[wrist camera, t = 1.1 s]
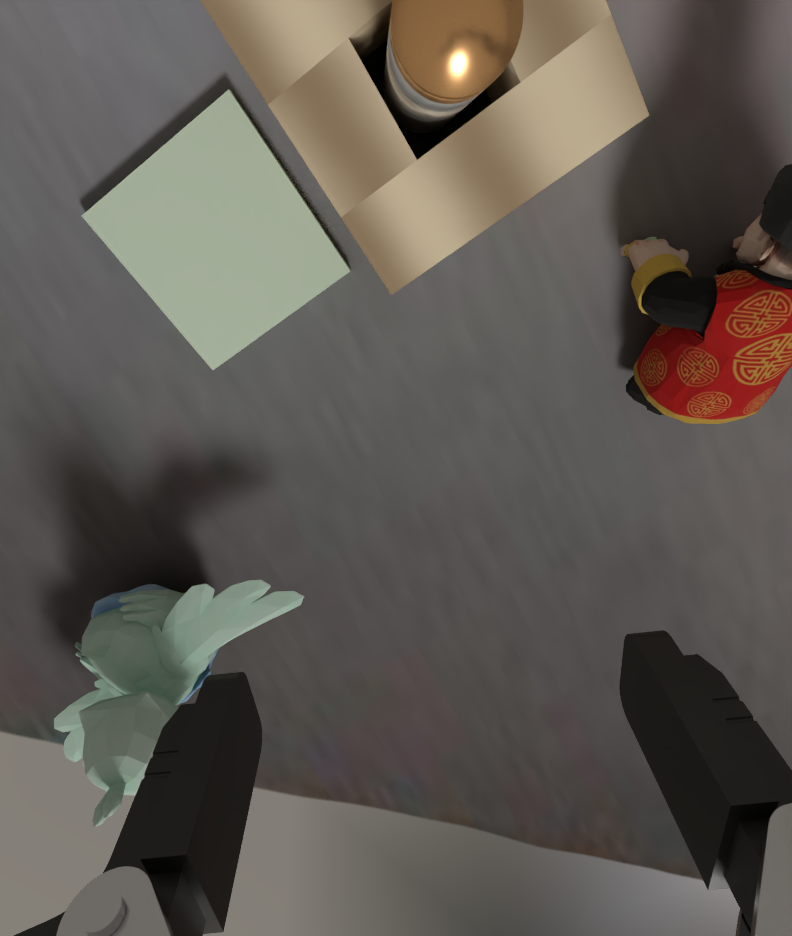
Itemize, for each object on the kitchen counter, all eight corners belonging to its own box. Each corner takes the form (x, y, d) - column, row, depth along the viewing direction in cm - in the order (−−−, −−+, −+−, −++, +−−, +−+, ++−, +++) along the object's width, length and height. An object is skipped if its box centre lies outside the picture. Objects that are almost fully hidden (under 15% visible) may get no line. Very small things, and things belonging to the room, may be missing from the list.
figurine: (716, 321, 37) (876, 61, 25) (792, 432, 32) (1044, 171, 20) (579, 335, 37) (674, 73, 24) (634, 451, 31) (792, 192, 19)
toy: (155, 729, 47) (69, 944, 34) (30, 661, 43) (-125, 874, 30) (343, 567, 40) (329, 755, 27) (214, 468, 36) (122, 631, 23)
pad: (231, 91, 27) (228, 89, 27) (350, 269, 31) (350, 271, 31) (86, 215, 29) (81, 216, 29) (215, 367, 33) (212, 370, 33)
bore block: (470, -171, 23) (500, -277, 18) (597, 129, 29) (649, 115, 23) (234, 38, 26) (199, -1, 21) (387, 277, 31) (391, 294, 26)
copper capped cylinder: (436, 15, 26) (482, -107, 15) (478, 99, 28) (546, 41, 17) (367, 71, 27) (364, -7, 16) (411, 150, 29) (435, 125, 18)
